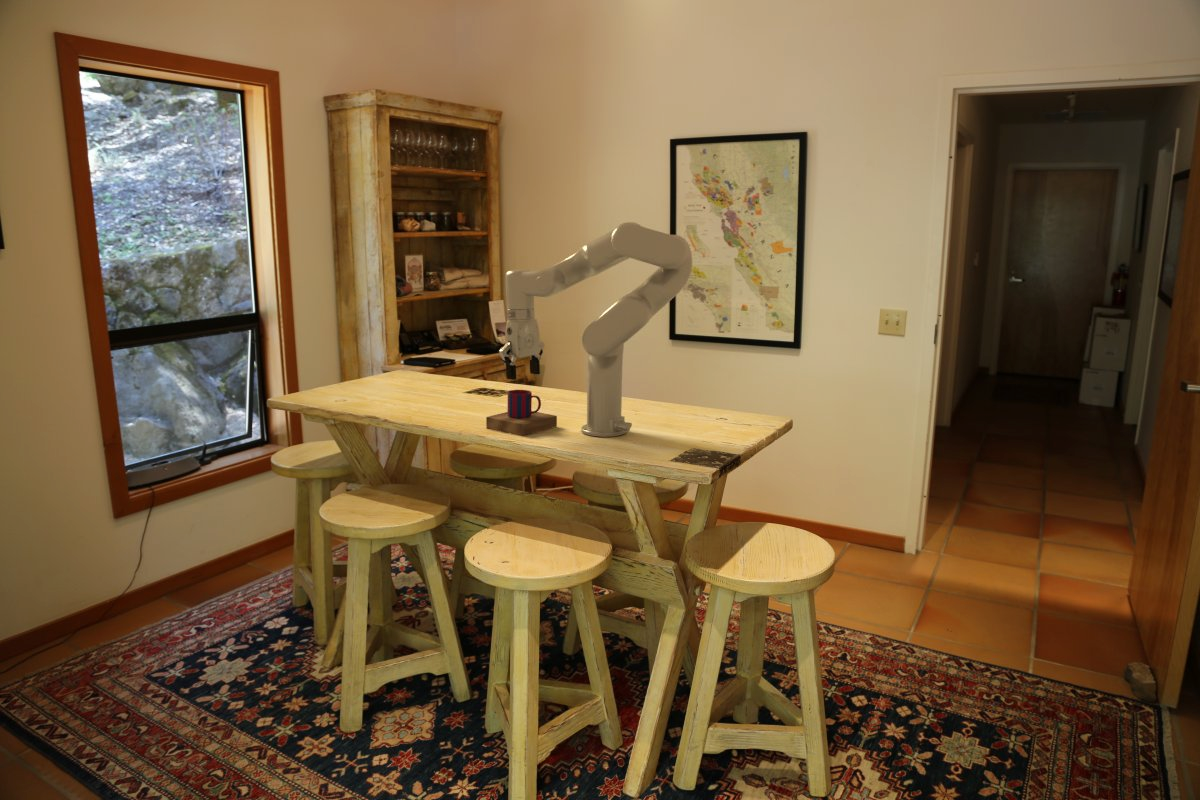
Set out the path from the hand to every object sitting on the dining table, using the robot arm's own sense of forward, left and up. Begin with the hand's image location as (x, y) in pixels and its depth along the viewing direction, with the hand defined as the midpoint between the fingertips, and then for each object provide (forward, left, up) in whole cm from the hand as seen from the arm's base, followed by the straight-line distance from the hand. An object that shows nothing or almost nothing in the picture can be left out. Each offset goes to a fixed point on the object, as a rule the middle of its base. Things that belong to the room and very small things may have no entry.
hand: (523, 376), depth 235 cm
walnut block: (0, 0, -15) cm, 15 cm away
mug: (0, 0, -12) cm, 12 cm away
